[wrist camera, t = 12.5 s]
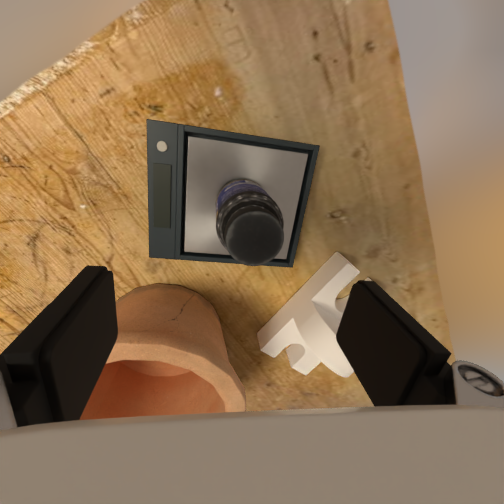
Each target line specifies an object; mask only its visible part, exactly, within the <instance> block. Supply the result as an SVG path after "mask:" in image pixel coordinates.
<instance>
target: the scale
mask: <svg viewBox="0 0 504 504" xmlns="http://www.w3.org/2000/svg"><path fill="white" fill-rule="evenodd" d="M188 136H191V137H198V138H204V139H211V140H218V141H225V142H232V143H238V144H245V145H252V146H259V147H266V148H272V149H279V150H286V151H293V152H299V153H306V154H308V158H307V162H306V167H305V172H304V177H303V182H302V186H301V191H300V196H299V201H298V205H297V210H296V215H295V220H294V225H293V229H292V234H291V239H290V244H289V248H288V253H287V258H286V259H275V258H274V259H272V260H271V261H269V262H267V263H265V264H263V265H264V266H279V267H293V263H294V259H295V254H296V250H297V245H298V241H299V236H300V232H301V227H302V223H303V218H304V214H305V209H306V205H307V200H308V196H309V191H310V187H311V182H312V178H313V173H314V169H315V164H316V160H317V155H318V151H319V145H312V144H306V143H299V142H293V141H286V140H280V139H273V138H267V137H260V136H254V135H247V134H241V133H234V132H228V131H221V130H215V129H208V128H202V127H195V126H189V125H183V124H176V123H170V122H163V121H157V120H150V119H147V164H148V216H149V257H150V258H165V259H179V260H193V261H207V262H221V263H236V264H241V263H239V262H237V261H236V260H235V259H234V258H233V257H232V256H231V255H222V254H208V253H195V252H184V237H185V210H186V184H187V158H188Z"/></svg>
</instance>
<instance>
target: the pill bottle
mask: <svg viewBox="0 0 504 504" xmlns="http://www.w3.org/2000/svg"><path fill="white" fill-rule="evenodd" d="M215 205H216V231H217V235H218V238H219V240H220V242H221V244H222V245H223V246H224V248H225V249H226V250H228V252H229V254H230V255H231V256H232V257H233V258H234V259H235V260H236V261H237V262H239V263H241V264H244V265H247V266H248V265H249V266H258V265H263V264H265V263H267V262H269V261H271V260H272V259H274V258H275V257H276V256H277V255H278V253H279V252H280V250H281V248H282V246H283V242H284V231H283V228H284V220H283V216H282V212H281V210H280V208H279V207H278V205H277V204H276V202H275V201H274V200H273V199H272V198H271V197H270V196H269V195H268V193H267V192H266V191H265V190H264V189H263V188H262V187H261V186H260V185H259V184H258V183H256V182H254V181H251V180H248V179H237V180H234V181H231V182H229V183H227V184H226V185H225V186H224V187H223V188H222V189H221V190H220V192H219V194H218V197H217V200H216V204H215Z"/></svg>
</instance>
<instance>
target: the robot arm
mask: <svg viewBox="0 0 504 504" xmlns="http://www.w3.org/2000/svg"><path fill="white" fill-rule="evenodd" d="M117 337H118V324H117V313H116V302H115V291H114V280H113V273H112V271H108V270H107V268H106V267H105V266H86V267H85V268H84V269H83V270H82V271H81V272H80V273H79V274H78V275H77V276H76V277H75V278H74V279H73V280H72V282H71V283H70V284H69V285H68V286H67V287H66V288H65V289H64V290H63V291H62V292H61V293H60V294H59V295H58V296H57V297H56V298H55V299H54V300H53V301H52V303H50V304H49V305H48V306H47V307H46V308H45V309H44V310H43V311H42V312H41V313H40V314H39V315H38V316H37V317H36V318H35V319H34V320H33V321H32V322H31V323H30V324H29V325H28V326H27V327H26V328H25V329H24V330H23V332H22V333H21V334H20V335H19V336H18V337H17V338H16V339H15V340H14V341H13V342H12V343H11V344H10V345H9V346H8V347H7V348H6V349H5V350H4V351H3V352H2V353H1V354H0V504H504V383H503V382H502V381H501V380H500V379H499V378H498V377H496V376H495V375H494V374H493V373H491V372H489V371H488V370H486V369H485V368H483V367H480V366H478V365H476V364H474V363H471V362H467V361H455V362H454V363H452V365H451V366H450V365H449V364H448V363H447V360H448V358H449V357H450V355H451V353H450V352H449V351H448V350H447V349H446V348H445V347H444V346H443V345H442V344H441V343H440V342H439V341H437V340H436V339H435V338H434V337H433V336H432V335H431V334H430V333H429V332H428V331H427V330H426V329H425V328H424V327H422V326H421V325H420V324H419V323H418V322H417V321H416V320H415V319H414V318H413V317H412V316H411V315H410V314H409V313H407V312H406V311H405V310H404V309H403V308H402V307H401V306H400V305H399V304H398V303H397V302H396V301H395V300H394V299H392V298H391V297H390V296H389V295H388V294H387V293H386V292H385V291H384V290H383V289H382V288H381V287H380V286H379V285H377V284H376V283H375V282H374V281H364V280H359V281H358V282H357V283H355V284H354V285H353V286H352V289H351V292H350V295H349V298H348V301H347V304H346V307H345V310H344V313H343V316H342V318H341V321H340V324H339V327H338V330H337V333H336V340H337V343H338V345H339V346H340V348H341V350H342V351H343V353H344V355H345V357H346V358H347V360H348V362H349V363H350V365H351V367H352V369H353V370H354V372H355V374H356V375H357V377H358V379H359V380H360V382H361V384H362V386H363V387H364V389H365V391H366V392H367V394H368V396H369V398H370V399H371V401H372V403H373V404H374V406H375V407H346V408H320V409H294V410H269V411H245V412H222V413H201V414H179V415H157V416H137V417H121V418H105V419H89V420H80V417H81V415H82V413H83V411H84V409H85V407H86V405H87V402H88V400H89V398H90V396H91V394H92V392H93V390H94V387H95V385H96V383H97V381H98V379H99V377H100V375H101V373H102V370H103V368H104V366H105V364H106V362H107V360H108V358H109V355H110V353H111V351H112V349H113V347H114V345H115V343H116V340H117Z"/></svg>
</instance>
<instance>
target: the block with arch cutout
mask: <svg viewBox="0 0 504 504" xmlns="http://www.w3.org/2000/svg"><path fill="white" fill-rule="evenodd" d="M359 273H360V271H359V270H358V269H357V268H356V267H354V266H353V265H352V264H351V263H350V262H349V261H348V260H347V259H346V258H345V257H344V256H342V255H341V254H340V253H339V252H335V253H334V254H333V255H332V256H331V257H330V258H329V259H328V260H327V261H326V262H325V263H324V264H323V265H322V266H321V268H320V269H319V270H318V271H317V272H316V273H315V274H314V275H313V276H312V277H311V278H310V279H309V280H308V281H307V282H306V283H305V284H304V285H303V286H302V287H301V288H300V289H299V290H298V291H297V292H296V293H295V294H294V295H293V297H292V298H291V299H290V300H289V301H288V302H287V303H286V304H285V305H284V306H283V307H282V308H281V309H280V310H279V311H278V312H277V313H276V314H275V315H274V316H273V317H272V318H271V319H270V320H269V321H268V322H267V323H266V324H265V325H264V326H263V327H262V328H261V329H260V330H259V331H258V332H257V337H258V342H259V347H260V350H261V351H262V352H264V353H266V354H268V355H270V356H271V357H273V358H275V357H276V356H277V355H278V354H279V353H280V352H281V351H282V350H283V349H284V348H285V347H287V346H288V345H290V346H289V347H288V348H287V349H286V352H287V356H288V359H289V362H290V365H291V368H293V369H295V370H297V371H299V372H301V373H302V374H304V375H307V374H308V373H309V372H310V371H311V370H313V369H314V368H315V367H316V366H317V365H318V364H319V363H320V362H322V363H324V364H325V365H326V366H327V367H328V368H329V369H330V370H332V371H333V372H335V373H336V374H338V375H340V376H342V377H349V376H350V375H351V374H352V373H353V372H354V370H353V369H352V367H351V365H350V363H349V362H348V360H347V358H346V357H345V355H344V353H343V351H342V350H341V348H340V346H339V345H338V343H337V340H336V333H337V330H338V327H339V324H340V321H341V318H342V316H343V313H344V310H345V307H346V304H347V301H348V298H349V295H350V294H349V295H348V296H346V297H344V298H342V299H336V297H337V295H338V294H339V292H340V291H341V290H342V289H343V288H344V287H345V286H346V285H347V284H349V283H350V282H351V281H352V280H353V279H354V278H355V277H356V276H357V275H358V274H359ZM364 281H372V280H371V279H370V278H368V277H367V278H366V279H365V280H364Z"/></svg>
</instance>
